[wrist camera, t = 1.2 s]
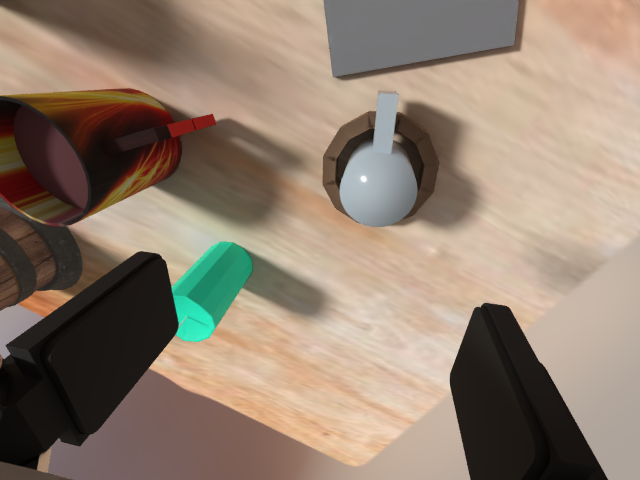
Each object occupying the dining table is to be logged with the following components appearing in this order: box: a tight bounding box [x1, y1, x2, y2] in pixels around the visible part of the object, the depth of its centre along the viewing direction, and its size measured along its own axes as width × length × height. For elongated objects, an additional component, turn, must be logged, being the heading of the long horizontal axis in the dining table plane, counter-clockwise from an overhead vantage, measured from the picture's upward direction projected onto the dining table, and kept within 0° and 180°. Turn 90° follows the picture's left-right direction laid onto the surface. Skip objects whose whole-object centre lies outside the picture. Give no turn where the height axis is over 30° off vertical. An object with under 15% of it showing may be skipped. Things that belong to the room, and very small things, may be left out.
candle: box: [171, 242, 253, 342], centre depth 34 cm, size 6×6×12 cm
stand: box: [323, 111, 439, 224], centre depth 30 cm, size 10×10×2 cm
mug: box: [0, 88, 216, 226], centre depth 27 cm, size 10×14×12 cm
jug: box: [340, 91, 417, 227], centre depth 27 cm, size 10×6×7 cm, turn 179°
